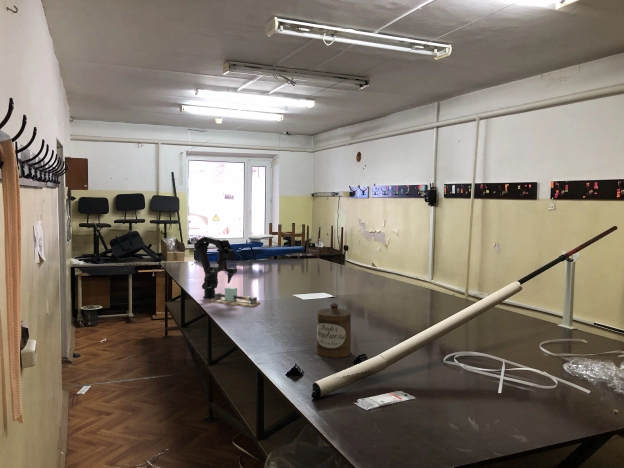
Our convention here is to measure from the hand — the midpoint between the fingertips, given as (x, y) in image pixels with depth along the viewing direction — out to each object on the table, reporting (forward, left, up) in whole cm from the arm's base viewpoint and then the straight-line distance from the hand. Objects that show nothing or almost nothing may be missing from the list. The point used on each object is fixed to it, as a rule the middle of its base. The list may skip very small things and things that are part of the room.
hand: (222, 282), depth 310 cm
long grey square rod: (+11, -1, -9) cm, 14 cm away
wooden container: (+104, -64, -12) cm, 122 cm away
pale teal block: (+7, -1, -10) cm, 13 cm away
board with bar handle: (+11, -1, -12) cm, 16 cm away
